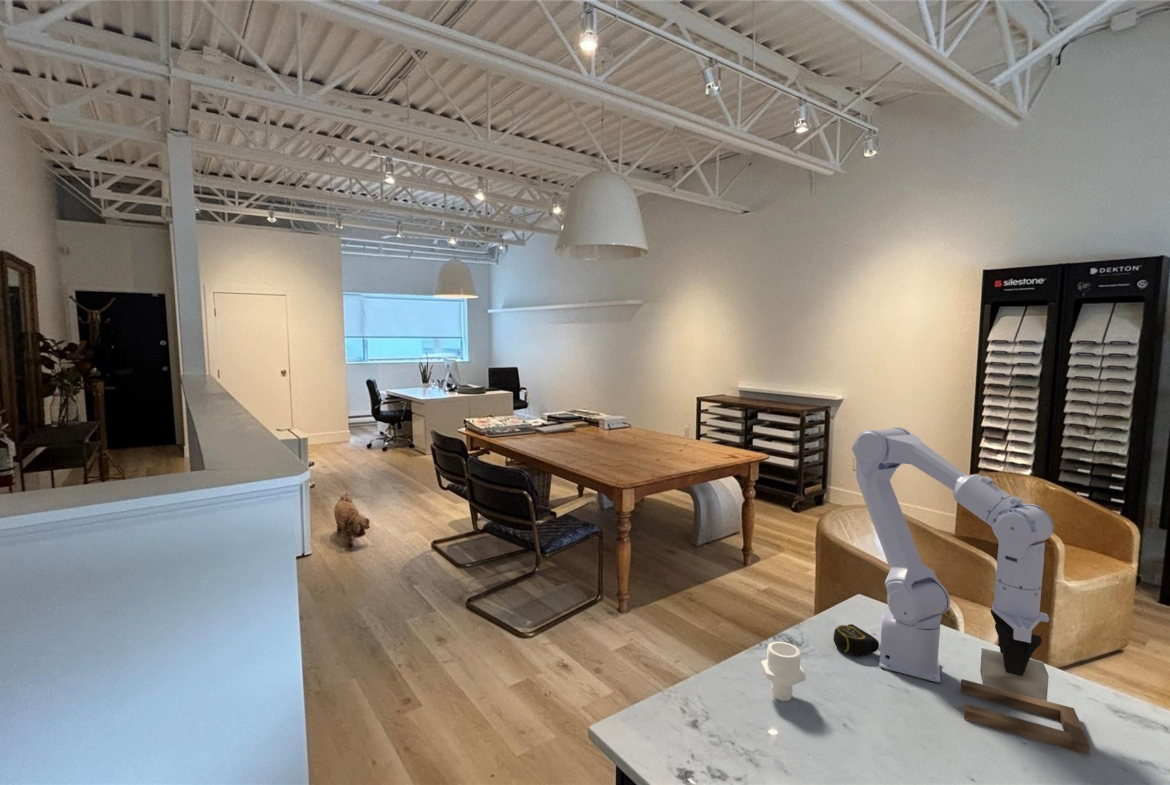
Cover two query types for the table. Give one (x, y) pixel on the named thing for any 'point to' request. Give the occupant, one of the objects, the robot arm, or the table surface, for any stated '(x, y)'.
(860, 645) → the tape measure
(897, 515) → the robot arm
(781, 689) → the pipe fitting
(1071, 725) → the brown frame section
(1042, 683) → the beige rectangular block
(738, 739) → the table surface
